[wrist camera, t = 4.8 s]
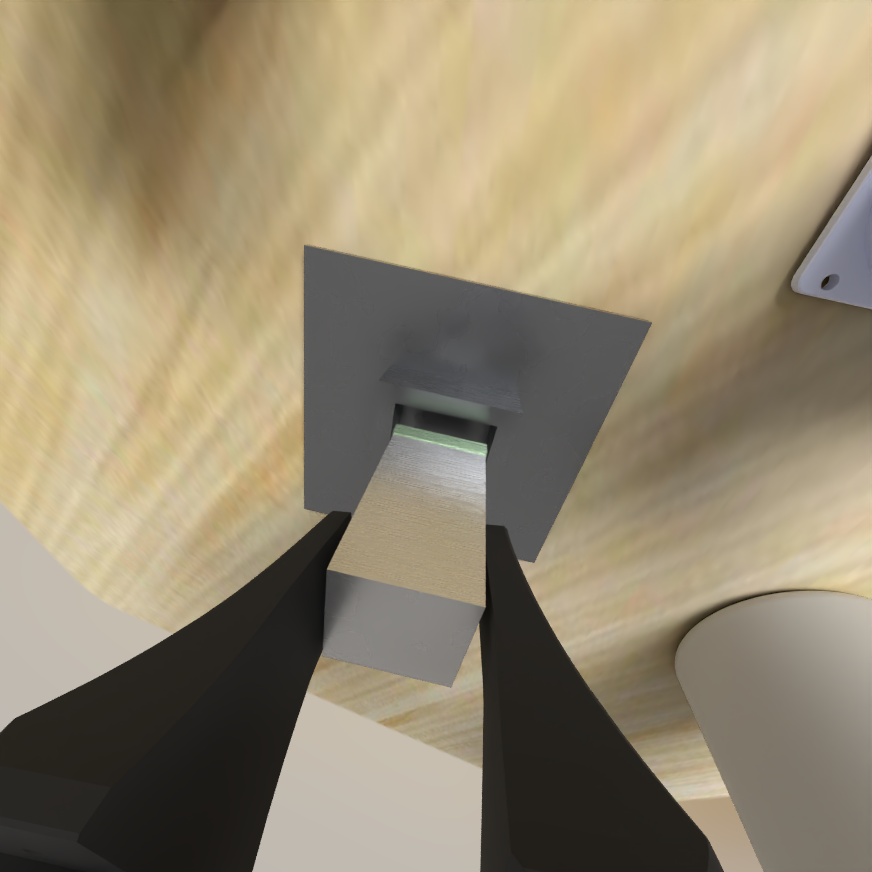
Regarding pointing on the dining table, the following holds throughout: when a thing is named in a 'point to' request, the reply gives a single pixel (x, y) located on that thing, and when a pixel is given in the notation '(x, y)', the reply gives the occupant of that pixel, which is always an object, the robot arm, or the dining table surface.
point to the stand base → (454, 382)
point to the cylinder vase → (790, 723)
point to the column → (412, 561)
